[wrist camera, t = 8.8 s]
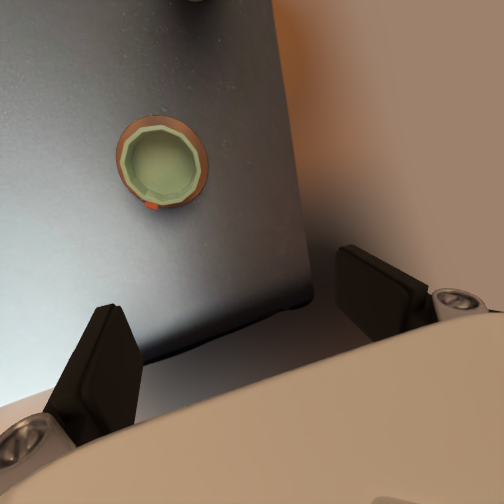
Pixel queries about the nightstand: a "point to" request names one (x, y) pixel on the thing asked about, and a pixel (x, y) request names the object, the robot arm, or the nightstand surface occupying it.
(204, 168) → the plate
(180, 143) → the bowl
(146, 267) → the nightstand surface
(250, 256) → the nightstand surface
